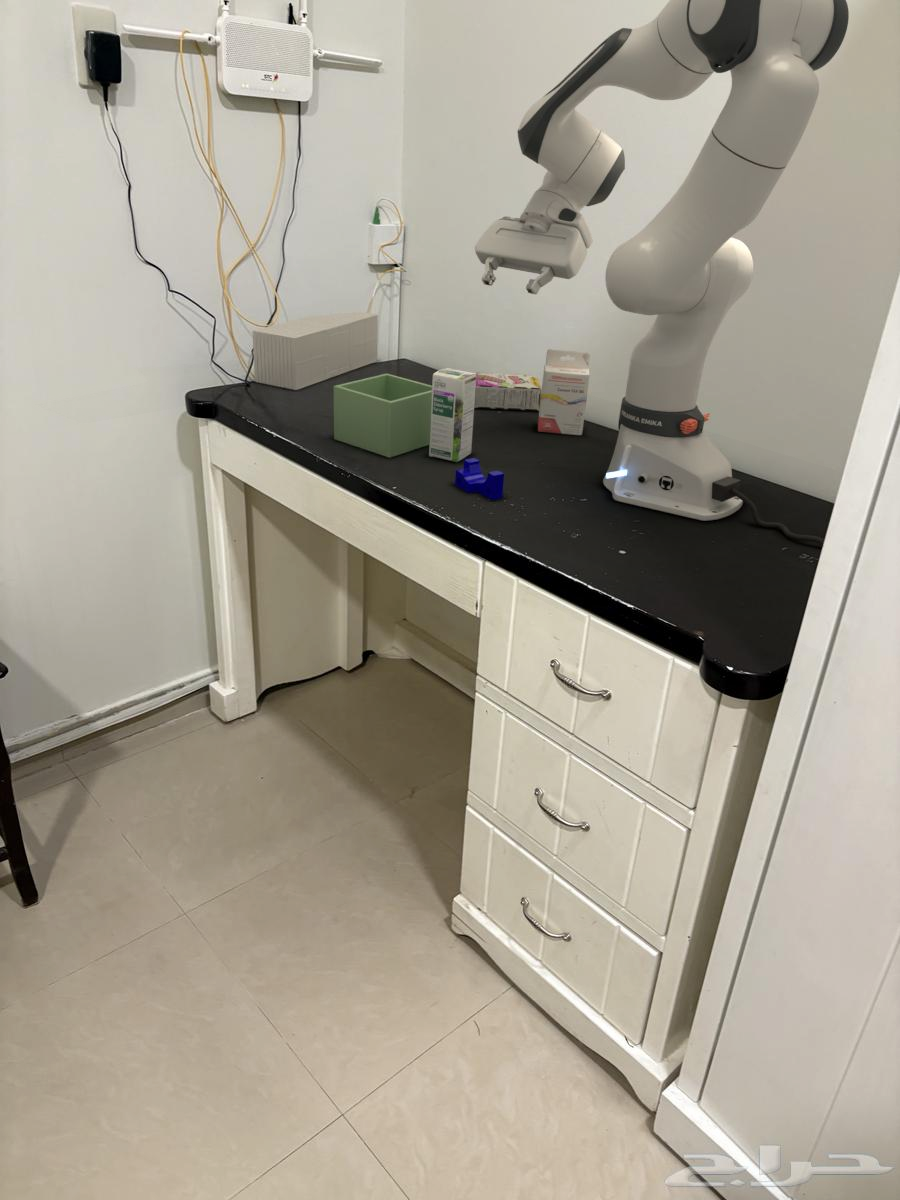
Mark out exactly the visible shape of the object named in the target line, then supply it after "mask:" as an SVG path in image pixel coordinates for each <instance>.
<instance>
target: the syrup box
mask: <svg viewBox="0 0 900 1200" xmlns="http://www.w3.org/2000/svg"><path fill="white" fill-rule="evenodd" d="M470 372H471V371H465V370H461V369H460V370H459V369H454V368H450V367H446V368H442V369H440V370H437V371H435V372H434V373H432V380H431V382H432V383H431V386H432V404H431V430H430V445H428V446H429V448H428V450H429V451H428V457H430V458H438V459H441V460H446V461H450V462H454V463H458V462H460V461H462V460H464V459H465V458H467V457H468V456H469V455H471V454H472V446H473V445H472V443H473V431H474V418H475V417H474V416H475V408H474V402H475V388H476V373H477V372H474V373H470Z"/></svg>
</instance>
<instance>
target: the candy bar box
mask: <svg viewBox="0 0 900 1200" xmlns="http://www.w3.org/2000/svg"><path fill="white" fill-rule="evenodd" d="M469 372H470V373H476V388H475V402H474V409H492V410H511V411H513V410H514V411H533V412H534V411H535V412H539V409H540V400H541V391H542V386H541V384H540V381H539V378H538V379H536V378H534V377H531V376H527V375H528V374H519V373H518V374H516V373H496V372H495V373H493V372H473V371H472V372H471V371H469Z"/></svg>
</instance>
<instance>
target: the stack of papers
mask: <svg viewBox="0 0 900 1200" xmlns="http://www.w3.org/2000/svg"><path fill="white" fill-rule="evenodd" d="M308 316H309V317H308ZM308 316H304V317H300V318H296V319H292V320H289V321H285V322H280V323H276V324H271V325H269V326H265V327H261V328H256V329H254V330H253V329H252V330H251V331H252V332H251V333H252V349H253V351H252V352H253V369H254V371H253V372H254V382H256V383H259V384H262V385H263V384H264V385H268V386H273V387H279V388H283V389H284V388H285V389H288V390H293V391H298V390H301V389H303V388H306V387H309V386H312V385H315V384H319V383H321V382H323V381H327V380H329V379H331V378H334V377H337V376H340V375H342V374H345V373H348V372H351V371H354V370H356V369H359V368H362V367H365V366H368V365H371V364H374V363H376V362H378V342H379V341H378V339H379V338H378V334H379V333H378V331H379V330H378V329H379V328H378V327H379V317H378V316H379V314H376V313H370V312H363V311H358V312H352V313H343V314H342V313H339V314H334V315H333V314H330V315H320V316H311V315H308Z"/></svg>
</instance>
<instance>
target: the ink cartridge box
mask: <svg viewBox="0 0 900 1200" xmlns="http://www.w3.org/2000/svg"><path fill="white" fill-rule="evenodd" d="M567 356H569V357H570V358H575V359H574V360H570V359H562V357H567ZM590 357H591V353H589V352H588V351H576V350H565V349H554V348H553V349H552V348H548V349H547V351H546V355H545V365H544V367H543V368H544V369H543V373H542V374H543V375H542V384H541V399H540V408H539V411H538V419H537V432H538V433H539V432H541V433H551V434H562V435H570V436H571V435H573V436H582V435H583V431H584V422H585V416H586V407H587V399H588V391H589V385H590V369H589V364H590Z"/></svg>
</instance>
